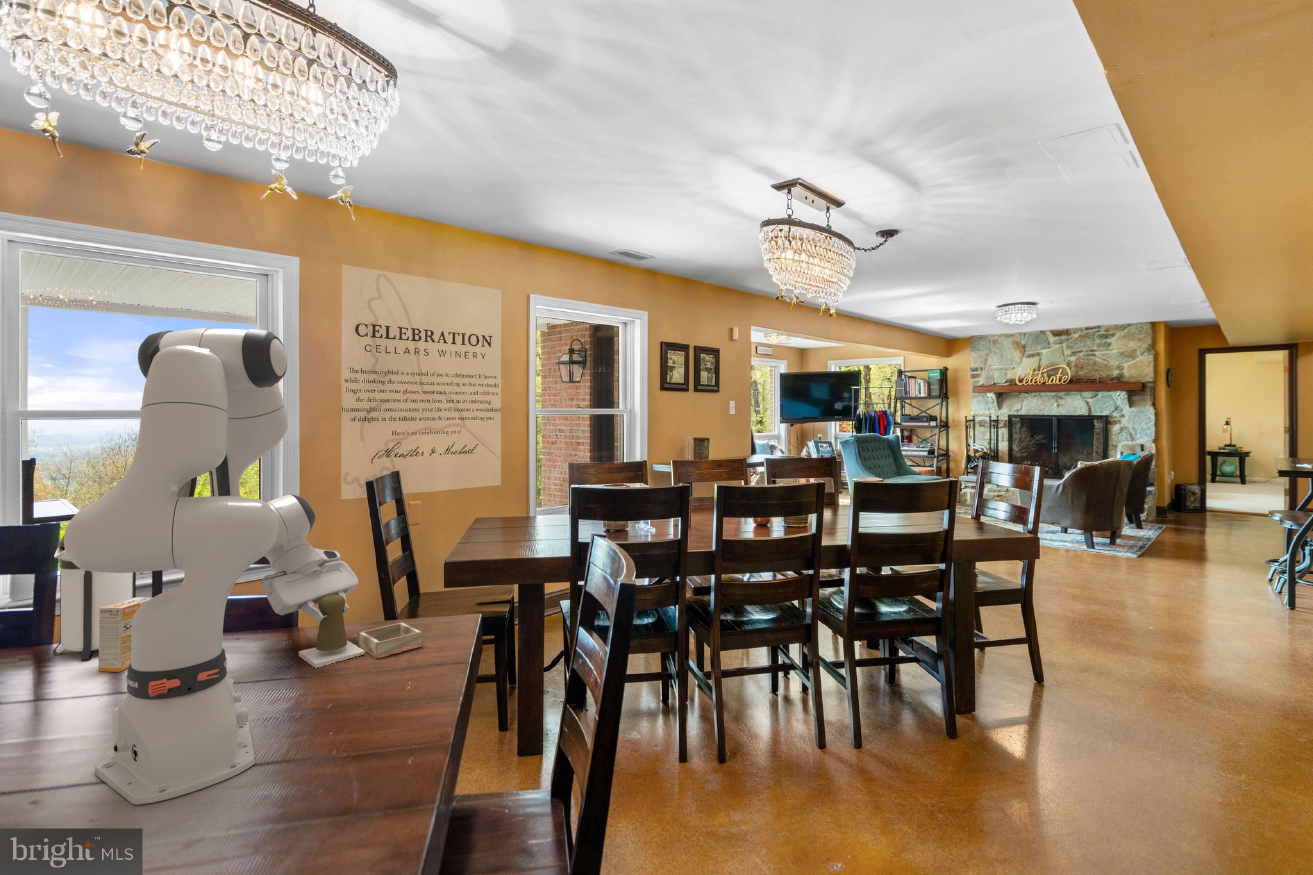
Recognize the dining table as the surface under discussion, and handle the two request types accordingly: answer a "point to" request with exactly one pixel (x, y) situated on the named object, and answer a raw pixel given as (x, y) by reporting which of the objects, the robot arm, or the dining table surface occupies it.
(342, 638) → the cork
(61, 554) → the coffee press
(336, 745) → the dining table surface
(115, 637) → the supplement box
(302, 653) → the ceramic tile
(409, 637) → the frame
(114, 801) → the dining table surface
